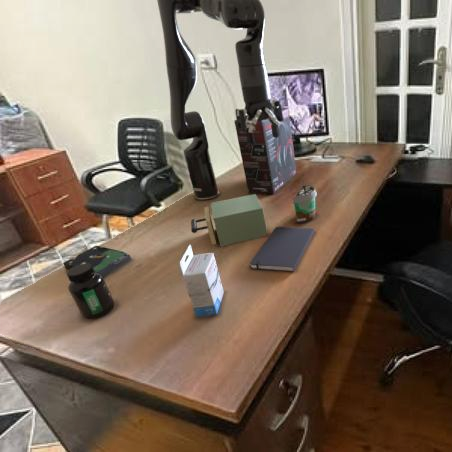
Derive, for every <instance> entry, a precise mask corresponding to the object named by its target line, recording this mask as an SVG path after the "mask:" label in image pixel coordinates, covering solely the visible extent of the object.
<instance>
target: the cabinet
mask: <svg viewBox="0 0 452 452" xmlns="http://www.w3.org/2000/svg"><path fill="white" fill-rule="evenodd" d="M210 208H211V213H212V219H213V222H214V223H213V224H214V227H215V231H216V234H217V239H218V242H219V246H220V247H224V246H229V245H232V244H238V243H241V242H245V241H251V240H254V239H258V238H262V237H267V236H268V229H267V224H266V219H265V214H264V208H263V206H262V204H261V202H260V200H259V198H258V196H257V193H252V194H248V195H244V196H238V197H234V198H233V197H232V198H228V199H224V200H219V201H213V202H210Z"/></svg>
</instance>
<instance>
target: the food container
mask: <svg viewBox="0 0 452 452" xmlns="http://www.w3.org/2000/svg"><path fill="white" fill-rule="evenodd" d="M317 196H318V193H317V190H316V188H315V186H313V185H311V184H308V183H302V187H301V188H300V189H299V190H298V192H297V193H296V196H292V198H293V199H292V202H293V203H292V204H293V205H294V211H295V217H296V224H304V223H308V222H311V221H313V220H315V218H316V197H317Z"/></svg>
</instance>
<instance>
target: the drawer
mask: <svg viewBox="0 0 452 452" xmlns="http://www.w3.org/2000/svg"><path fill="white" fill-rule="evenodd" d="M203 208H204V216H205V217H204V218H200V219H196V218H192V219H191V220H190V230H191V231H190V232H191V233H192V234H196V233H197V232H198V231H202V230H206V229H207V230H208V235H209V238H210V242H211V245H216V244H217V239H216V234H215V233H216V232H215V229H214V227H215V226H214V223H213V221H212V216H211V212H210V209H209V206H206V207H203ZM200 222H205V223H206V225H205V226H201V227H200V226H199V227H198V224H197V223H200Z"/></svg>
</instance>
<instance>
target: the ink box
mask: <svg viewBox="0 0 452 452" xmlns="http://www.w3.org/2000/svg"><path fill="white" fill-rule="evenodd" d="M178 263H179V264H178V265H179V269H180V272H181V275H182V278H183V282H184V285H185V288H186V290H187V294H188V296H189V299H190V302H191V305H192V306H191V307H192V308H193V311H194V315H195V318H201V317H210V316H217V315H218V313H219V310H220V306H221V304H222V300H223V297H224V293H225V291H224V288H223V284H222V280H221V277H220V272H219V269H218V265H217V261H216V258H215V253H214V252H207V253H199V254H194V252H193V248H192V245H191V244H188V246H187V248H186V250H185V252H184V253H183V254H182V257H181V259H180V260H179V262H178Z"/></svg>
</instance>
